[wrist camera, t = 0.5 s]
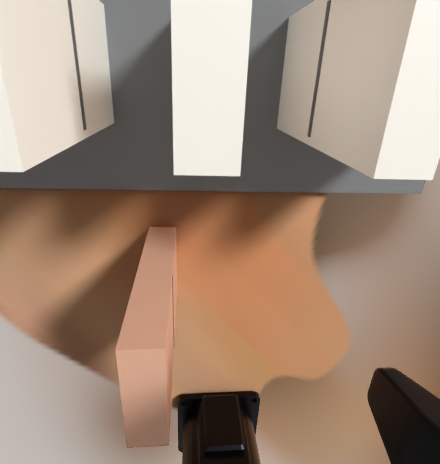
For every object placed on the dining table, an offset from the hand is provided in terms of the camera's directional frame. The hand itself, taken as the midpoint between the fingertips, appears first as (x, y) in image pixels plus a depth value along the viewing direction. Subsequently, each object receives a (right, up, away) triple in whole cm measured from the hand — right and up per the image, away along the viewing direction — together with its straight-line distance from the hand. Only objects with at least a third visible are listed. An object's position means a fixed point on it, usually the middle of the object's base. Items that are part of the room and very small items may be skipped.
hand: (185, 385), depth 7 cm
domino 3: (0, +11, +8) cm, 14 cm away
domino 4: (+5, +11, +9) cm, 15 cm away
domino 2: (-3, +2, +13) cm, 14 cm away
